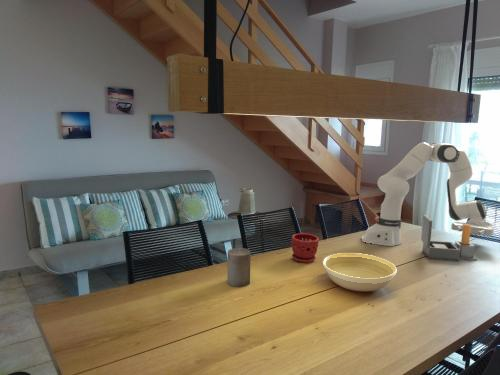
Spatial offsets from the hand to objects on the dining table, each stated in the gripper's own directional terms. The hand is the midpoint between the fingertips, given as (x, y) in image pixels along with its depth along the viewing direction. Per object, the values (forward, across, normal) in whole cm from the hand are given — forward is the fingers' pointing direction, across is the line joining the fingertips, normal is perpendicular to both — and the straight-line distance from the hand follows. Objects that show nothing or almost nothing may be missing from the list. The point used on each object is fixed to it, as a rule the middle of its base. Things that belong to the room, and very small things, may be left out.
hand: (469, 231), depth 207 cm
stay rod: (+10, 0, +11) cm, 15 cm away
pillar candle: (+114, -66, +11) cm, 132 cm away
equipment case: (+17, -10, +12) cm, 23 cm away
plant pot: (+71, -60, +12) cm, 93 cm away
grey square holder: (+10, 0, +12) cm, 15 cm away
